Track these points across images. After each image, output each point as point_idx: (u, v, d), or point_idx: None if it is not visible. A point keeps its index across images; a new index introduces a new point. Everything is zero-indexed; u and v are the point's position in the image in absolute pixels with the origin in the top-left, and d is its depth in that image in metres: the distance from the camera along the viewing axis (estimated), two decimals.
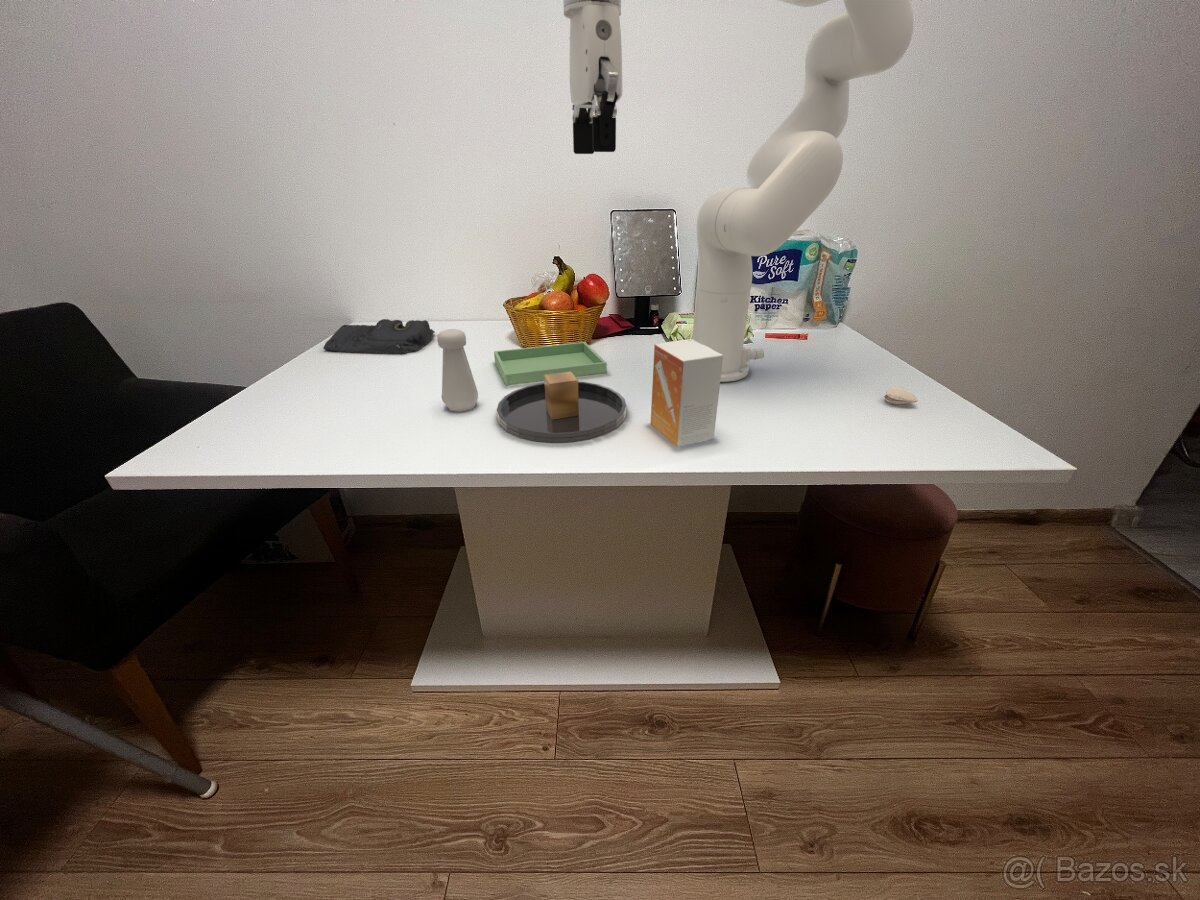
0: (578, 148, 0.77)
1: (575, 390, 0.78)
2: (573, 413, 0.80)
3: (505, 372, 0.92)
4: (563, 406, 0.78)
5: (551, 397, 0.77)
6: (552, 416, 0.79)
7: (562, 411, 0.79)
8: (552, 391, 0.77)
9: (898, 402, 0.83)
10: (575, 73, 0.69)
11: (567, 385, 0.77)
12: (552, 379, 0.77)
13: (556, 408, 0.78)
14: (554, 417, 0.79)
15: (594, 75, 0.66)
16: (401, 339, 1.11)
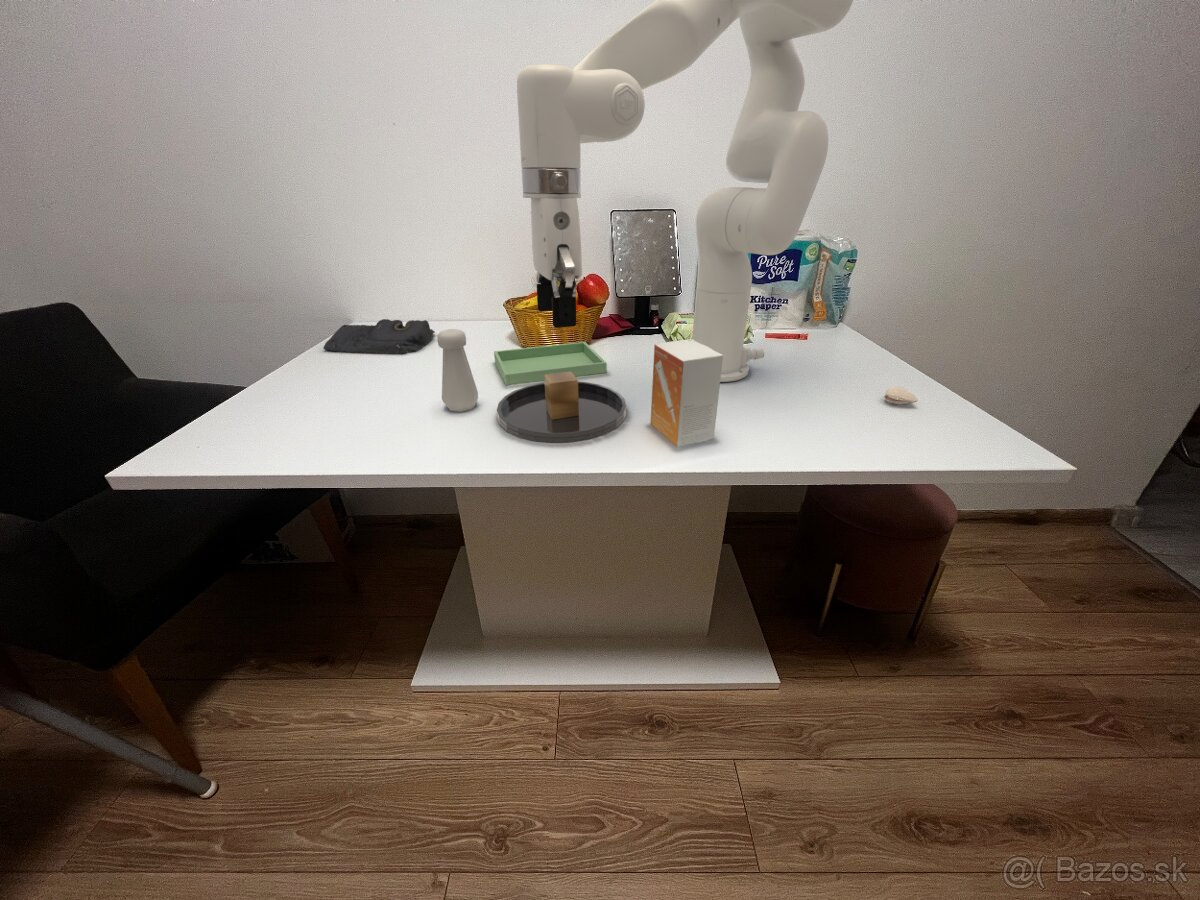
0: (542, 307, 0.77)
1: (575, 390, 0.78)
2: (573, 413, 0.80)
3: (505, 372, 0.92)
4: (563, 406, 0.78)
5: (551, 397, 0.77)
6: (552, 416, 0.79)
7: (562, 411, 0.79)
8: (552, 391, 0.77)
9: (898, 402, 0.83)
10: (536, 249, 0.69)
11: (567, 385, 0.77)
12: (552, 379, 0.77)
13: (556, 408, 0.78)
14: (554, 417, 0.79)
15: (552, 261, 0.65)
16: (401, 339, 1.11)
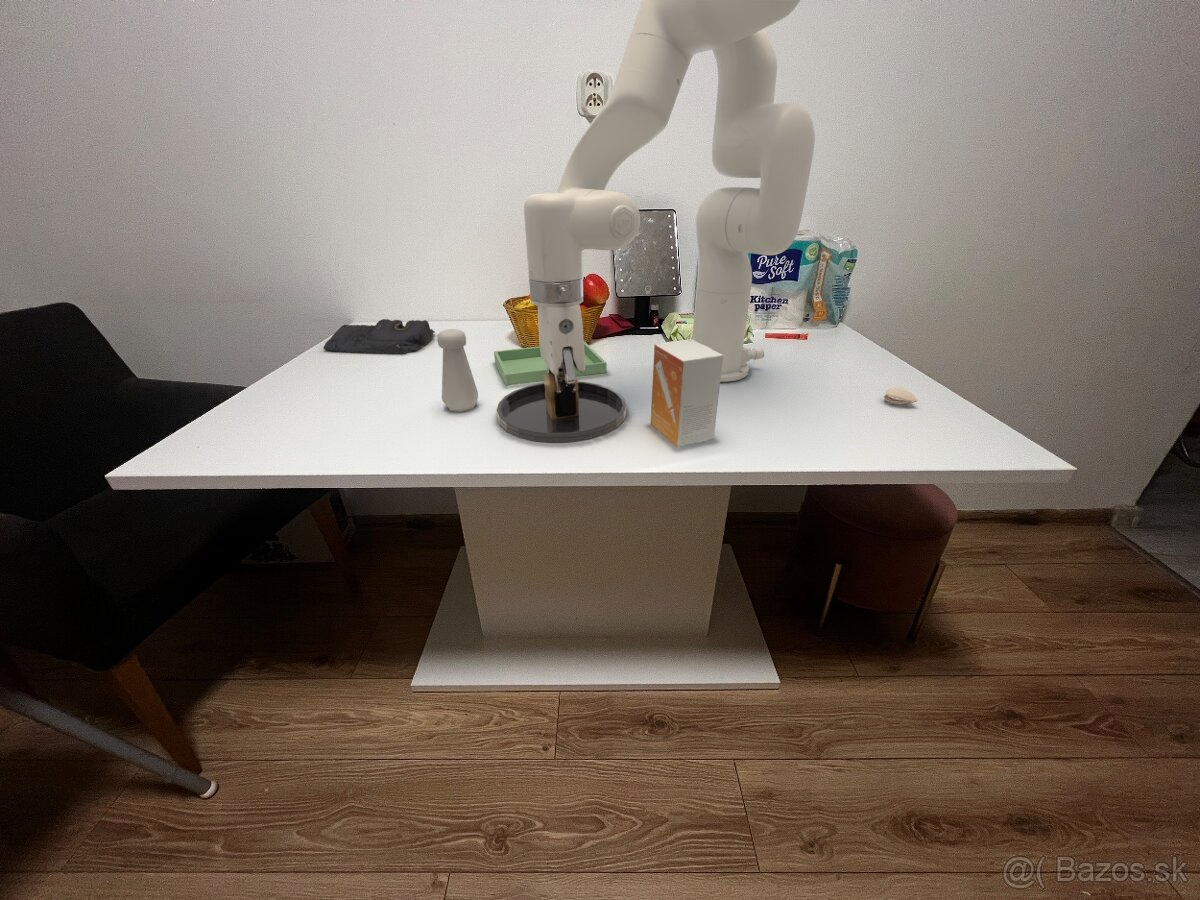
0: None
1: None
2: None
3: (505, 372, 0.92)
4: None
5: (551, 397, 0.77)
6: (552, 416, 0.79)
7: None
8: (552, 391, 0.77)
9: (898, 402, 0.83)
10: (542, 345, 0.75)
11: None
12: (552, 379, 0.77)
13: None
14: (554, 417, 0.79)
15: (558, 361, 0.72)
16: (401, 339, 1.11)
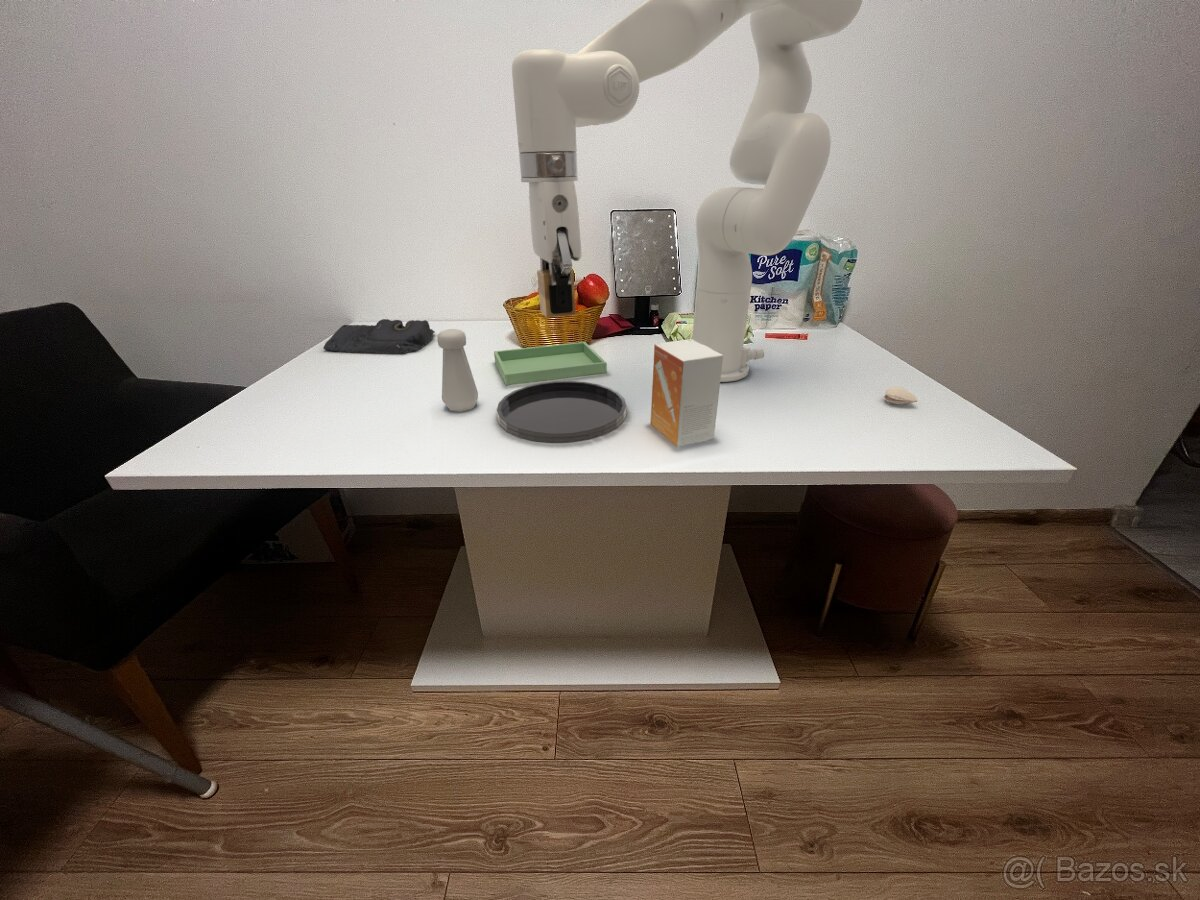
0: None
1: None
2: None
3: (505, 372, 0.92)
4: None
5: (545, 291, 0.72)
6: (547, 314, 0.74)
7: None
8: (546, 284, 0.72)
9: (898, 402, 0.83)
10: (535, 233, 0.71)
11: None
12: (546, 273, 0.73)
13: None
14: (549, 315, 0.74)
15: (552, 244, 0.67)
16: (401, 339, 1.11)
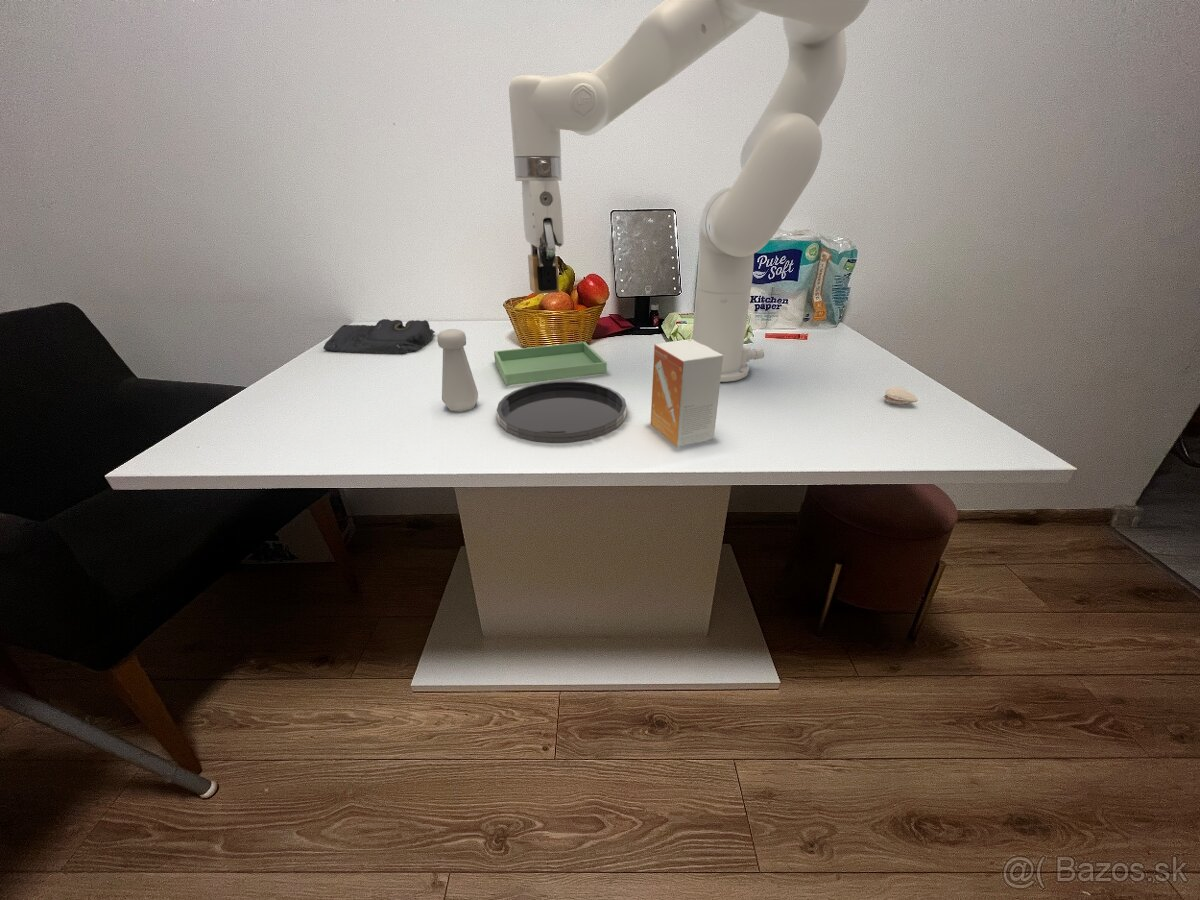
0: None
1: None
2: None
3: (505, 372, 0.92)
4: None
5: (534, 271, 0.87)
6: (535, 290, 0.89)
7: None
8: (534, 266, 0.87)
9: (898, 402, 0.83)
10: (526, 223, 0.86)
11: None
12: (535, 256, 0.88)
13: None
14: (537, 291, 0.89)
15: (540, 231, 0.82)
16: (401, 339, 1.11)
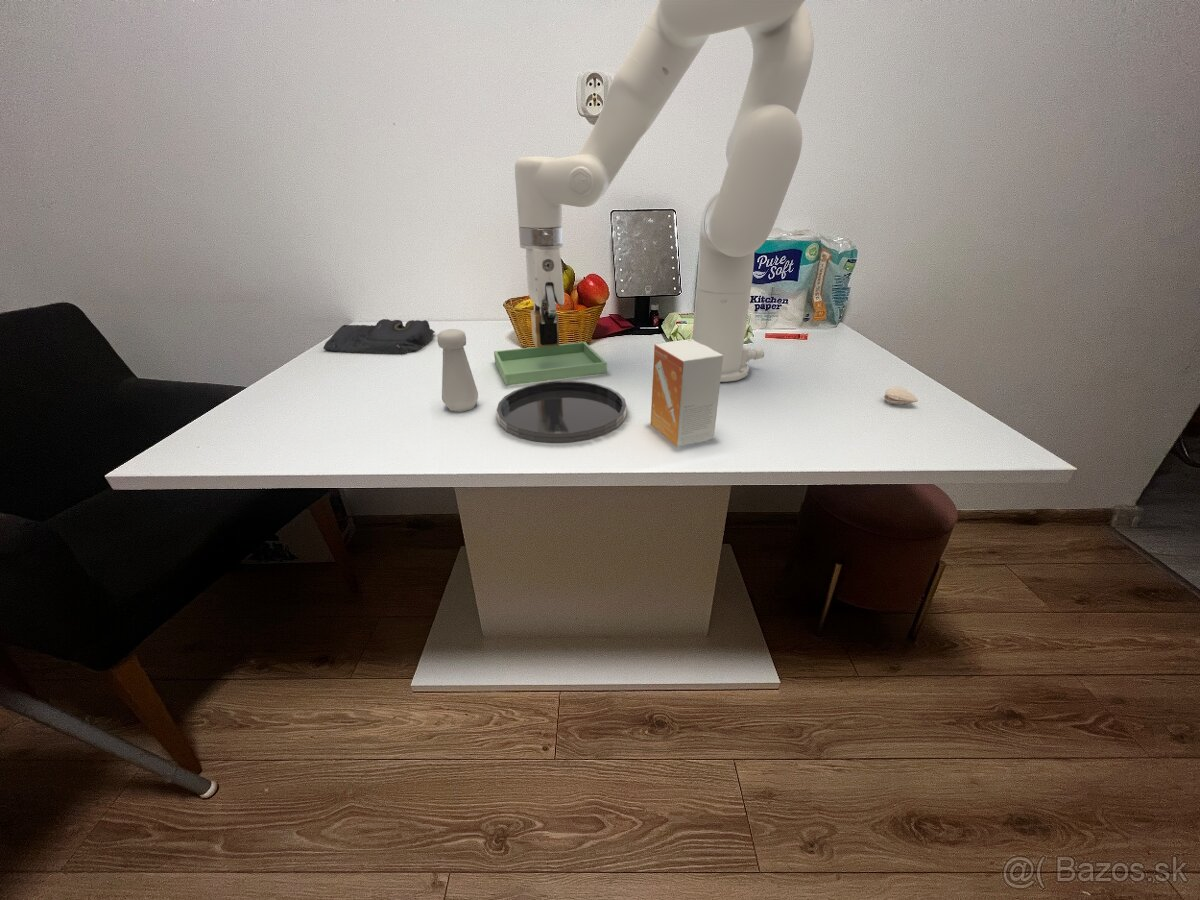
0: None
1: None
2: None
3: (505, 372, 0.92)
4: None
5: (536, 328, 0.94)
6: (537, 344, 0.96)
7: None
8: (537, 323, 0.94)
9: (898, 402, 0.83)
10: (530, 284, 0.92)
11: None
12: (537, 313, 0.94)
13: None
14: (539, 345, 0.96)
15: (542, 294, 0.89)
16: (401, 339, 1.11)
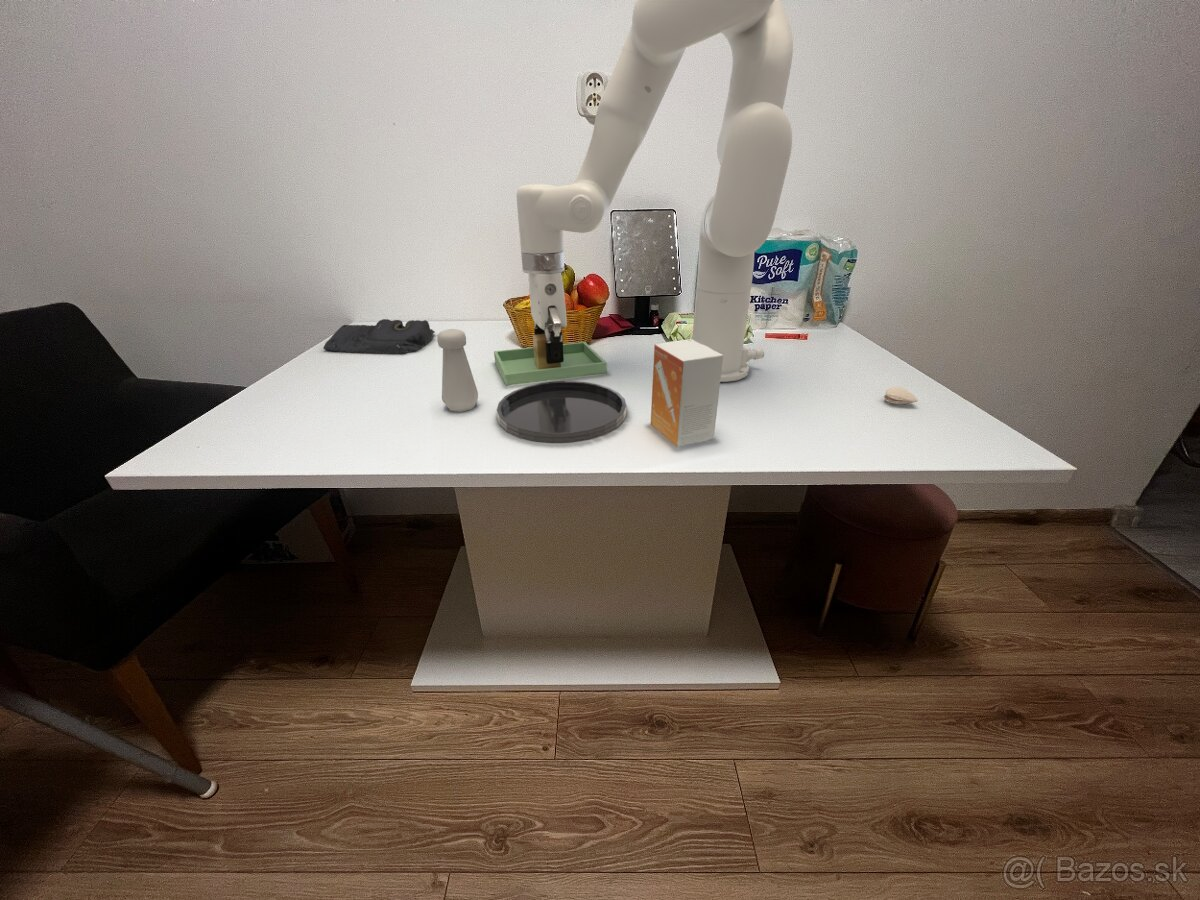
0: None
1: None
2: (556, 366, 0.99)
3: (505, 372, 0.92)
4: None
5: (538, 352, 0.96)
6: (539, 368, 0.98)
7: (547, 364, 0.98)
8: (539, 347, 0.96)
9: (898, 402, 0.83)
10: (533, 306, 0.94)
11: None
12: (539, 338, 0.96)
13: (543, 361, 0.97)
14: None
15: (545, 317, 0.90)
16: (401, 339, 1.11)
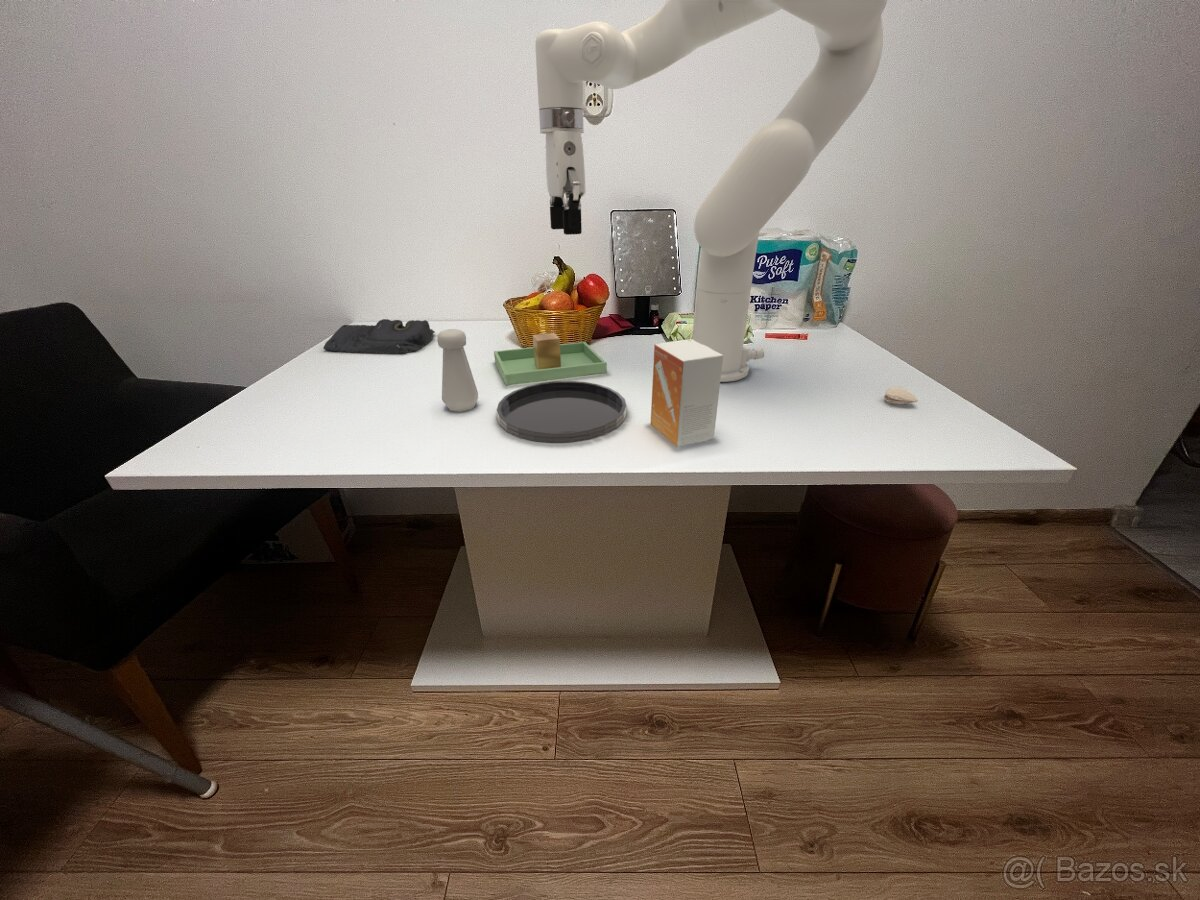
0: (554, 225, 0.99)
1: (557, 347, 0.97)
2: (556, 366, 0.99)
3: (505, 372, 0.92)
4: (548, 359, 0.98)
5: (538, 352, 0.96)
6: (539, 368, 0.98)
7: (547, 364, 0.98)
8: (539, 347, 0.96)
9: (898, 402, 0.83)
10: (550, 174, 0.91)
11: (551, 342, 0.96)
12: (539, 338, 0.96)
13: (543, 361, 0.97)
14: None
15: (563, 180, 0.87)
16: (401, 339, 1.11)
